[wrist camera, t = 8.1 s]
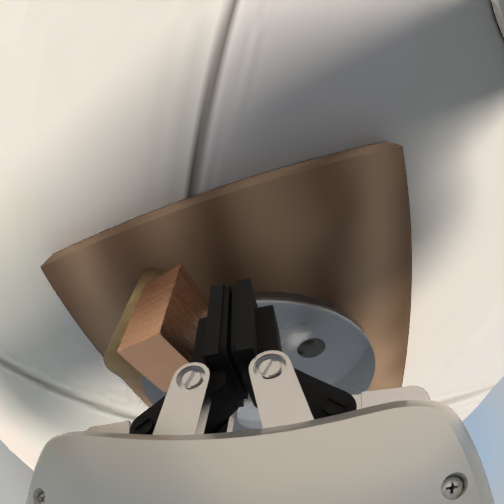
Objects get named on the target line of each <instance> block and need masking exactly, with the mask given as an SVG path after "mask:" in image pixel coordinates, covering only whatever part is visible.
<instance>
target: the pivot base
mask: <svg viewBox="0 0 504 504" xmlns="http://www.w3.org/2000/svg"><path fill="white" fill-rule="evenodd" d="M180 264H181V265H182V266H183V268H184V269H185V270H186V272H187V273H188V274H189V276H190V277H191V278H192V279H193V281H194V282H195V283H196V284H197V286H198V287H199V288H200V290H201V291H202V292H203V293H204V295H205V296H206V297H207V298H208V300H209V299H210V291H211V286H214V285H219V284H225V286H230V288H231V290H232V286H233V285H236V284H237V281H239V280H244V279H248V278H250V281H251V284H252V288H253V291H254V292H287V293H294V294H302V295H306V296H310V297H314V298H318V299H321V300H323V301H326V302H328V303H331V304H333V305H335V306H337V307H339V308H340V309H342V310H344V311H346V312H347V313H348V314H349V315H351V316H352V317H353V318H354V319H355V320H356V321H357V322H358V323H359V324H360V326H361V327H362V328H363V330H364V332H365V334H366V336H367V338H368V340H369V342H370V344H371V346H372V348H373V351H374V355H375V372H374V377H373V379H372V382H371V384H370V386H369V388H368V389H367V391H375V390H384V389H392V388H400V387H402V382H403V376H404V369H405V362H406V354H407V345H408V335H409V324H410V309H411V286H412V246H411V222H410V207H409V196H408V186H407V177H406V169H405V162H404V155H403V148H402V146H400V145H397V144H394V143H390V142H387V141H386V142H382V143H377V144H372V145H368V146H364V147H359V148H355V149H351V150H347V151H343V152H339V153H335V154H331V155H327V156H323V157H319V158H315V159H311V160H308V161H304V162H300V163H297V164H293V165H290V166H286V167H283V168H279V169H276V170H273V171H269V172H266V173H263V174H259V175H256V176H253V177H250V178H246V179H243V180H240V181H237V182H234V183H231V184H228V185H225V186H222V187H219V188H216V189H213V190H210V191H207V192H204V193H201V194H198V195H196V196H193V197H190V198H187V199H184V200H182V201H179V202H176V203H173V204H171V205H168V206H165V207H163V208H160V209H157V210H155V211H152V212H150V213H147V214H145V215H142V216H139V217H137V218H134V219H132V220H129V221H127V222H125V223H122V224H120V225H117V226H115V227H113V228H110V229H108V230H105V231H103V232H101V233H98V234H96V235H94V236H92V237H89V238H87V239H85V240H83V241H80V242H78V243H76V244H74V245H71V246H69V247H67V248H65V249H63V250H61V251H59V252H56V253H54V254H53V255H52V256H51V257H50V258H49V259H48V260H47V261H46V262H45V263H44V264H43V265H42V266H41V269H42V271H43V272H44V274H45V276H46V277H47V279H48V281H49V282H50V284H51V285H52V287H53V289H54V290H55V292H56V293H57V295H58V296H59V298H60V299H61V301H62V302H63V304H64V305H65V307H66V308H67V310H68V311H69V313H70V314H71V315H72V317H73V318H74V320H75V321H76V322H77V324H78V325H79V327H80V328H81V329H82V331H83V332H84V333H85V335H86V336H87V337H88V338H89V340H90V341H91V342H92V344H93V345H94V346H95V347H96V349H97V350H98V351H99V352H100V354H101V355H102V356H103V357H104V363H105V365H106V366H107V368H108V369H109V370H110V371H111V372H113V373H114V374H116V375H118V376H120V377H121V378H122V379H123V380H124V381H125V382H126V383H127V384H128V386H129V387H130V388H131V389H132V390H133V391H134V392H135V393H136V394H137V395H138V396H139V397H140V398H141V399H142V400H143V401H144V402H145V403H146V404H147V405H148V406H149V407H151V406H152V405H153V404H152V403H151V402H150V400H149V398H148V397H147V395H146V393H145V390H144V387H143V383H142V376H143V375H142V374H141V373H140V372H139V371H138V370H137V369H135V368H134V367H133V366H132V365H131V364H130V363H129V362H128V361H126V360H125V359H124V358H123V357H122V356H121V355H120V354H119V353H118V352H117V350H118V348H119V345H120V343H121V340H122V338H123V335H124V333H125V330H126V328H127V326H128V323H129V321H130V318H131V316H132V314H133V311H134V309H135V307H136V304H137V302H138V300H139V298H140V295H141V293H142V291H143V289H144V286H145V284H146V283H148V282H150V281H151V280H153V279H155V278H157V277H159V276H160V275H162V274H164V273H166V272H167V271H169V270H171V269H173V268H175V267H176V266H178V265H180Z"/></svg>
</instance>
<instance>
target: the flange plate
mask: <svg viewBox="0 0 504 504" xmlns="http://www.w3.org/2000/svg"><path fill="white" fill-rule="evenodd" d="M254 295H255V299H256V302H257V306H258V307H263V306H268V305H273V307H274V311H275V315H276V319H277V324H278V329H279V334H280V341H281V347H282V352H283V353H284V354H286V355H287V356H288V357H289V359H290V361H291V363H292V366H293V368H295V369H297V370H300V371H302V372H304V373H306V374H308V375H310V376H312V377H314V378H317V379H319V380H321V381H323V382H325V383H328V384H330V385H332V386H334V387H337V388H339V389H341V390H344V391H346V392H348V393H349V394H351V395H358V394H361V392H364V391H367V389H368V388H369V386H370V384H371V382H372V379H373V377H374V372H375V355H374V351H373V348H372V346H371V344H370V342H369V340H368V338H367V336H366V334H365V332H364V330H363V328H362V327H361V326H360V324H359V323H358V322H357V321H356V320H355V319H354V318H353V317H352V316H351V315H349V314H348V313H347V312H346V311H344V310H342V309H340V308H339V307H337V306H335V305H333V304H331V303H328V302H326V301H323V300H321V299H318V298H314V297H310V296H306V295H302V294H294V293H287V292H254ZM208 306H209V300H208V298H207V297H206V296H205V295H204V293H203V292H202V291H201V290H200V288H199V287H198V286H197V284H196V283H195V282H194V281H193V279H192V278H191V277H190V276H189V274H188V273H187V272H186V270H185V269H184V268H183V266H182V265H181V264H180V265H178V266H176V267H175V268H173V269H171V270H169V271H167V272H166V273H164V274H162V275H160V276H159V277H157V278H155V279H153V280H151V281H150V282H148V283H146V284H145V286H144V289H143V291H142V293H141V295H140V298H139V300H138V302H137V304H136V307H135V309H134V311H133V314H132V316H131V318H130V321H129V323H128V326H127V328H126V330H125V333H124V335H123V338H122V340H121V343H120V345H119V348H118V350H117V352H118V353H119V354H120V355H121V356H122V357H123V358H124V359H125V360H126V361H128V362H129V363H130V364H131V365H132V366H133V367H134V368H135V369H137V370H138V371H139V372H140V373H141V374H142V375H143V376H142V383H143V387H144V390H145V393H146V395H147V397H148V398H149V400H150V402H151V403H152V404H153V405H154V404H155V403H156V402H157V401H159V400H160V399H161V398H162V397H164V396H165V395H166V394H167V392H168V389H169V386H170V383H171V381H172V378H173V376H174V374H175V372H176V371H177V370H178V369H179V368H180V367H182V366H183V365H185V364H188V363H192V358H193V351H194V345H195V338H196V332H197V326H198V321H199V319H200V318H205V317H207V313H208ZM233 414H234V424H233V429H232V432H237V431H247V430H255V429H263V426H262V422H261V418H260V414H259V410H258V408H256V407H255V406H254V404H253V402H252V400H251V398H250V395H249V393H248V399H244V407H239V409H238V410H237V411H235V412H234V413H233Z"/></svg>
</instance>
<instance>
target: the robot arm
mask: <svg viewBox="0 0 504 504" xmlns="http://www.w3.org/2000/svg"><path fill="white" fill-rule="evenodd" d="M491 3H492V7H493V11H494V14H495V17H496V20H497V23H498V25H499V28H500V30H501V33H502V35H503V37H504V0H491ZM248 393H249V395H250V398H251V400H252V402H253V404H254V406H255V407H256V408H258V410H259V414H260V418H261V422H262V426H263V429H255V430H247V431H237V432H232V429H233V424H234V414H233V413H234V412H235V411H237V410H238V409H239V407H244V399H248ZM444 479H445V480H444ZM453 483H454V484H453ZM454 499H455V500H454ZM26 504H494V500H493V497H492V493H491V489H490V486H489V483H488V479H487V476H486V473H485V471H484V467H483V465H482V462H481V459H480V457H479V455H478V452H477V450H476V447H475V445H474V443H473V441H472V439H471V437H470V435H469V433H468V431H467V429H466V427H465V426H464V424H463V422H462V421H461V419H460V418H459V417H458V415H457V414H456V413H455V412H454V411H453V410H452V409H451V408H450V407H449V406H447V405H446V404H444V403H441V402H437V401H431V400H430V397H429V395H428V392H427V391H426V390H425V389H423V388H421V387H419V386H407V387H400V388H392V389H384V390H375V391H364V392H361V394H358V395H351V394H349V393H348V392H346V391H344V390H341V389H339V388H337V387H334V386H332V385H330V384H328V383H325V382H323V381H321V380H319V379H317V378H314V377H312V376H310V375H308V374H306V373H304V372H302V371H300V370H297V369H295V368H293V366H292V363H291V361H290V359H289V357H288V356H287V355H286V354H284V353H283V352H282V347H281V341H280V334H279V329H278V324H277V319H276V315H275V311H274V307H273V305H268V306H263V307H258V306H257V302H256V299H255V295H254V291H253V288H252V284H251V281H250V278H248V279H244V280H239V281H237V284H236V285H233V286H232V290H231V288H230V286H225V284H219V285H214V286H211V291H210V299H209V306H208V313H207V317H205V318H200V319H199V321H198V326H197V332H196V338H195V345H194V351H193V358H192V363H188V364H185V365H183V366H182V367H180V368H179V369H178V370H177V371H176V372H175V374H174V376H173V378H172V381H171V383H170V386H169V389H168V392H167V394H166V395H165V396H164V397H162V398H161V399H160V400H159V401H157V402H156V403H155V404H154V405H152V406H151V407H150V408H148V409H147V410H146V411H145V412H143V413H142V414H141V415H139V416H138V417H137V418H136V419H135V420H134V421H133V422H132V423H131V422H130V421H124V422H119V423H113V424H107V425H100V426H94V427H91V428H89V429H87V430H86V431H78V432H70V433H66V434H62V435H58V436H56V437H54V438H52V439H50V440H49V441H48V442H47V443H46V445H45V446H44V448H43V450H42V452H41V454H40V456H39V459H38V461H37V464H36V467H35V470H34V473H33V477H32V480H31V484H30V488H29V492H28V497H27V502H26Z"/></svg>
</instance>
